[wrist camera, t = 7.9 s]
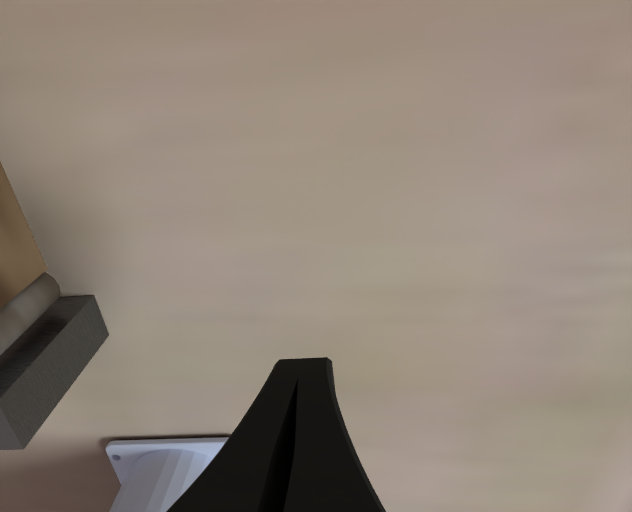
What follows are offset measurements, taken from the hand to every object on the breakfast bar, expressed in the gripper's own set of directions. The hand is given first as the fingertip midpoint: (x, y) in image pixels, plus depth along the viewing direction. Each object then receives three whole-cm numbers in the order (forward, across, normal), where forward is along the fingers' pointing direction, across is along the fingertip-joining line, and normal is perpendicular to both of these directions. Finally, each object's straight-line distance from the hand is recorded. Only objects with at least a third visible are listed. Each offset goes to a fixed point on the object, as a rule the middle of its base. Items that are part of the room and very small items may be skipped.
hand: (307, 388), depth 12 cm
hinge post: (+9, +13, +4) cm, 16 cm away
